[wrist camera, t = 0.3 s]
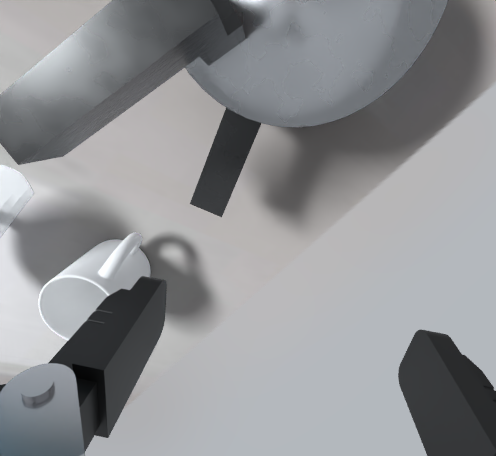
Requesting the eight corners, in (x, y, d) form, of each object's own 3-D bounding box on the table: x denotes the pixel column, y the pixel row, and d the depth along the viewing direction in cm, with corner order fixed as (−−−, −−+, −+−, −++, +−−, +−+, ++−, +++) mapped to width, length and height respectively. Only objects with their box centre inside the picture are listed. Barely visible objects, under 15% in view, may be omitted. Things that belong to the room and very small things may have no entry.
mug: (123, 202, 38) (75, 230, 29) (179, 240, 40) (152, 280, 30) (80, 270, 42) (24, 317, 32) (133, 304, 43) (95, 357, 33)
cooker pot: (238, -130, 27) (224, -281, 17) (415, -36, 29) (499, -120, 19) (149, 155, 36) (103, 170, 26) (289, 216, 38) (299, 252, 27)
